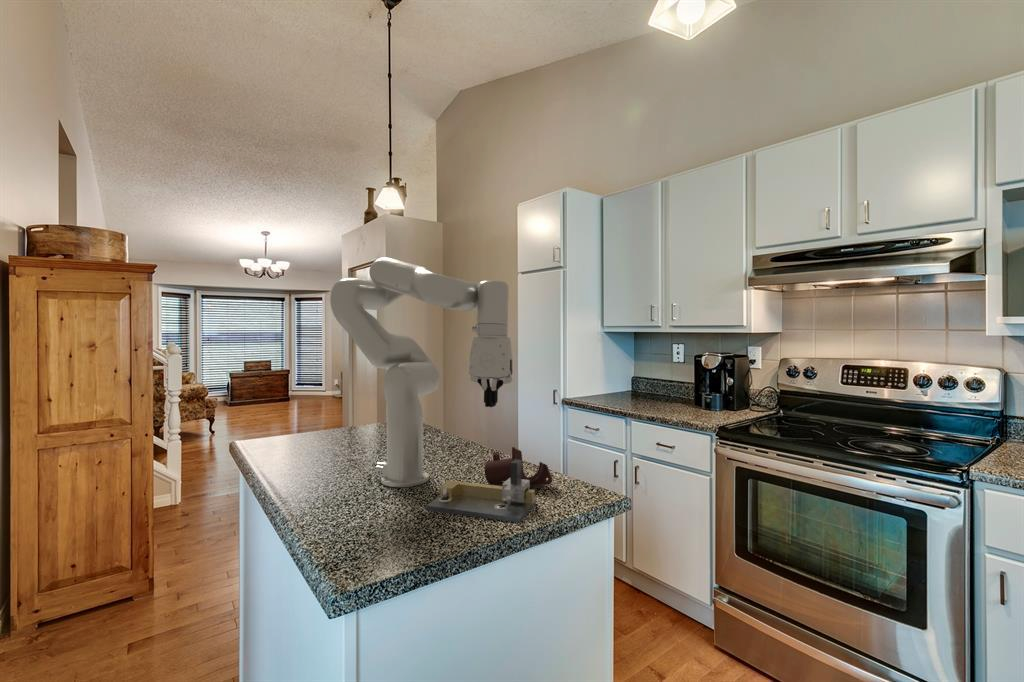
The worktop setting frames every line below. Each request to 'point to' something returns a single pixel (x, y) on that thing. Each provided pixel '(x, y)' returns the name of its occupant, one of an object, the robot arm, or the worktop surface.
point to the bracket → (502, 470)
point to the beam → (478, 491)
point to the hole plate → (482, 508)
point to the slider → (515, 484)
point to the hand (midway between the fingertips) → (490, 406)
